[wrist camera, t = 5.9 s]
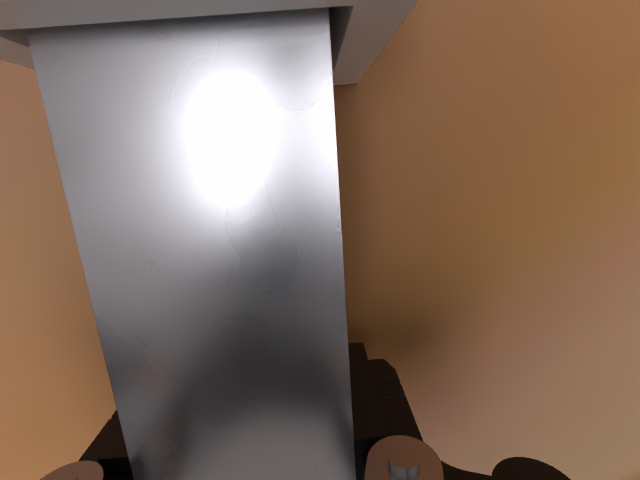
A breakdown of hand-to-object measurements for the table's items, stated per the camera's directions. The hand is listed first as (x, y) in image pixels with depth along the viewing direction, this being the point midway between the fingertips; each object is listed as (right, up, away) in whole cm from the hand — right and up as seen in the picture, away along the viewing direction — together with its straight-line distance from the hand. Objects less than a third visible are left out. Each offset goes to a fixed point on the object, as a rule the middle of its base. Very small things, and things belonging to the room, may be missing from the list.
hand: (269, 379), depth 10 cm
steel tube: (0, +4, -1) cm, 4 cm away
